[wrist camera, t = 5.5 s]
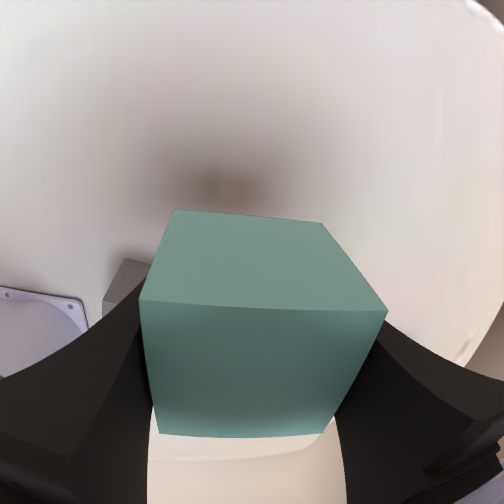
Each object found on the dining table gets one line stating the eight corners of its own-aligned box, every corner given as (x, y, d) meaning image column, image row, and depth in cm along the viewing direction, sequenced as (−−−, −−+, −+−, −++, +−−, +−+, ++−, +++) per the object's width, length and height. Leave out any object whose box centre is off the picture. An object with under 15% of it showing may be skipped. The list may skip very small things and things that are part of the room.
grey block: (120, 312, 21) (102, 358, 17) (125, 257, 19) (102, 300, 15) (181, 327, 22) (175, 376, 18) (194, 274, 20) (188, 321, 16)
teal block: (173, 327, 12) (159, 433, 7) (174, 209, 10) (138, 299, 5) (292, 333, 12) (322, 432, 8) (321, 223, 10) (388, 310, 6)
